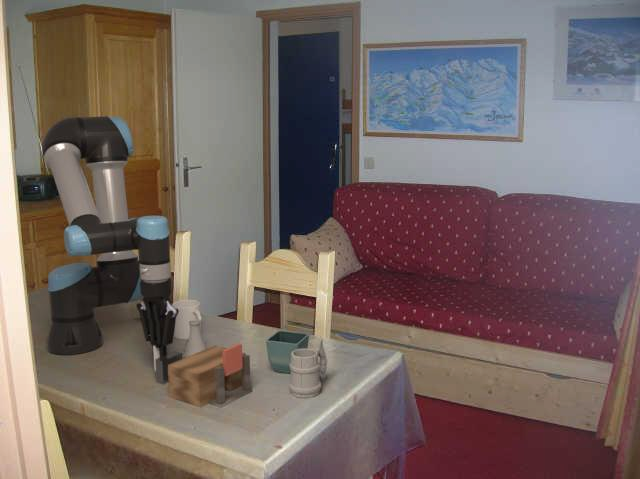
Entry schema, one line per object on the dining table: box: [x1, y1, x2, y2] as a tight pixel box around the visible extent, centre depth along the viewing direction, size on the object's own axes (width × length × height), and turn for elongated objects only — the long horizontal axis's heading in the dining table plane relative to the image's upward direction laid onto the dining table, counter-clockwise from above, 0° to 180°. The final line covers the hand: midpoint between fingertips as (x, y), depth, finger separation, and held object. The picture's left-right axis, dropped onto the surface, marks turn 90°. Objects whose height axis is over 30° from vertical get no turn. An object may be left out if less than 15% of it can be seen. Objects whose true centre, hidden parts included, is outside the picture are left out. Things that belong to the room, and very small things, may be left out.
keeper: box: [222, 342, 243, 376], centre depth 161 cm, size 1×6×6 cm, turn 146°
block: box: [168, 345, 253, 408], centre depth 165 cm, size 14×16×9 cm
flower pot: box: [265, 330, 310, 375], centre depth 179 cm, size 9×9×9 cm
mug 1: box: [171, 299, 203, 340], centre depth 205 cm, size 8×12×10 cm, turn 41°
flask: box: [182, 320, 208, 359], centre depth 189 cm, size 7×7×10 cm
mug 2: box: [288, 336, 328, 399], centre depth 166 cm, size 8×12×12 cm, turn 141°
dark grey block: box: [155, 350, 183, 385], centre depth 171 cm, size 12×7×6 cm, turn 56°
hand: (160, 369), depth 176 cm, fingers closed
